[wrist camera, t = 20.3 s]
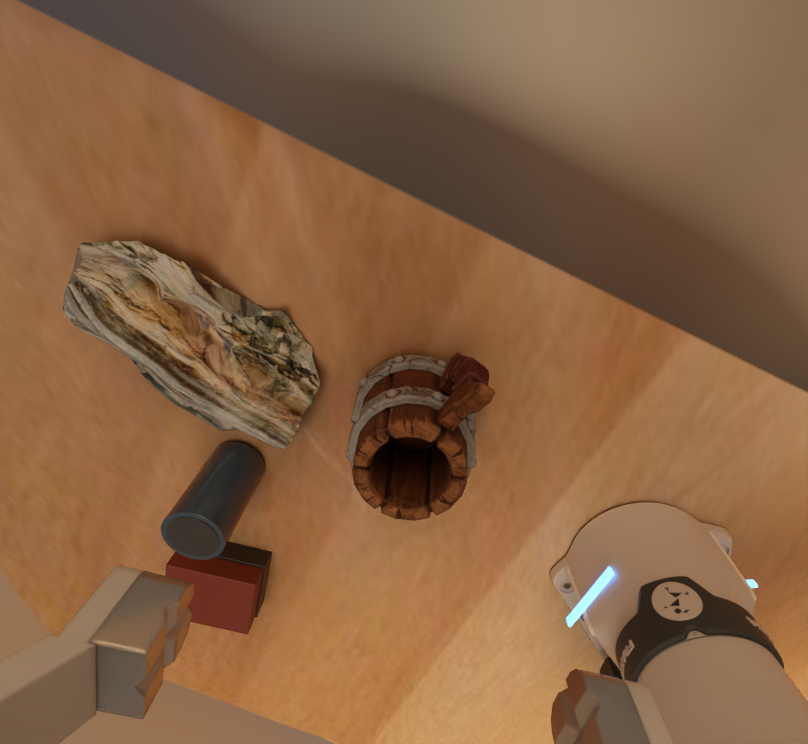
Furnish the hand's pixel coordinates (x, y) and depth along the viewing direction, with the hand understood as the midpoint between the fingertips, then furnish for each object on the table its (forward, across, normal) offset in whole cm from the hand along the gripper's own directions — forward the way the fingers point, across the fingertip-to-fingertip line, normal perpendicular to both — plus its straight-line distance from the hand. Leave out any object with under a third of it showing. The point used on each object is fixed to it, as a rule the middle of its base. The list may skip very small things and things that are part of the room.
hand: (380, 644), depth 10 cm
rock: (+34, +18, +9) cm, 40 cm away
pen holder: (+34, +14, +22) cm, 43 cm away
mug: (+34, -3, +9) cm, 36 cm away
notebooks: (+34, +14, +37) cm, 52 cm away
